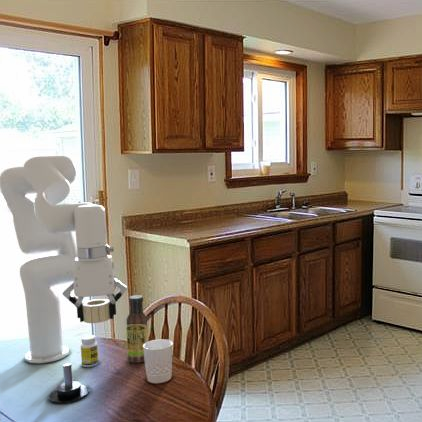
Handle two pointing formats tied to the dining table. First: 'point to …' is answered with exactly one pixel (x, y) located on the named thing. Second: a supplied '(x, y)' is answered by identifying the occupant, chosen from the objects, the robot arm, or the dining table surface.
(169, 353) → the white cup
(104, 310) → the tape roll
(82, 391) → the tape stand
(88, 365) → the supplement bottle
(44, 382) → the dining table surface
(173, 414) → the dining table surface
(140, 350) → the sauce bottle
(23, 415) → the dining table surface
